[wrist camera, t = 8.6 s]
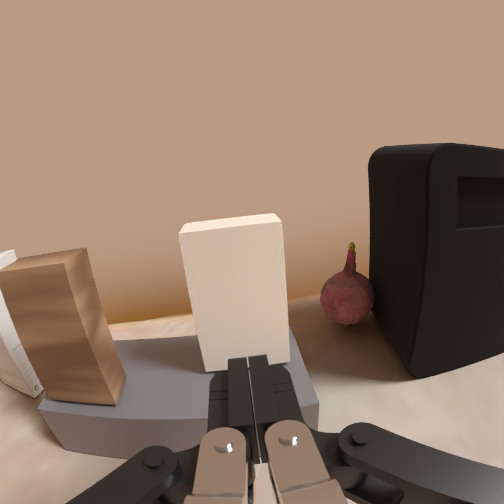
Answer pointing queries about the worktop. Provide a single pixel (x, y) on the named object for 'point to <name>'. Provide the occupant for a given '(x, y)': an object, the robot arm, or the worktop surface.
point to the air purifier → (438, 252)
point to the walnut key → (63, 326)
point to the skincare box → (14, 348)
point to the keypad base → (158, 401)
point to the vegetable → (348, 294)
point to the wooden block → (237, 288)
